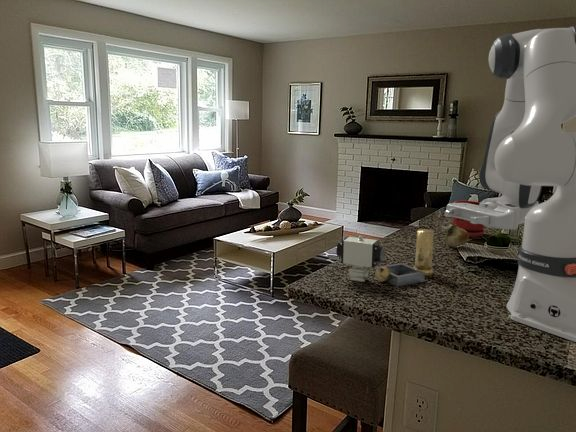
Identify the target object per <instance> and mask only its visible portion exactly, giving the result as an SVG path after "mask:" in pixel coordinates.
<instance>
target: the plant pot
mask: <svg viewBox="0 0 576 432" xmlns="http://www.w3.org/2000/svg"><path fill="white" fill-rule="evenodd" d="M481 202H482V201H474V200H455V201H453V202H452V203H469V204H474V205H479V204H480V203H481ZM451 220H452V223H454V224H456V226H457V227H459V228H462V229H464V230H465V231H467V232H468V234H469V238H470V237H471V238H476V237H481V236H483V235H484V234H485V230H484V228H486V227H485V226H484V225H482V224H473V223H470V221H467V220H464V219H460V218H456V217H451Z"/></svg>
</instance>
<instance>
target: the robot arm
mask: <svg viewBox="0 0 576 432" xmlns="http://www.w3.org/2000/svg"><path fill="white" fill-rule="evenodd" d="M488 65H489V69H490V70H491V74H492V75H493V76H494V77H495V78H496V79H503V80H504V79H505V80H506V84H505V90H504V101H503V105H502V108H501V110H499V111H498V112H497V113H496V114H495V115H494V117H493V119H492V122H491V126H490V130H489V134H488V138H487V143H486V148H485V153H484V158H483V162H482V164H481V166H480V169H479V172H478V180H479V184H480V186H481V187H482V188H483V189H484V190H488V191H492V192H495V193H499V194H501V196H499V197H491V198H490V197H489V198H485V199H482V201H480V202H481V203H480V204H479V205H474V204H469V203H453V202H452V203H451V202H450V203H448V204H447V205H446V210H444V217H446V218H452V217H456V218H460V219H464V220H467V221H470V223H473V224H482V225H484V226H485V227H484V228H488V229H494V228H495V229H500V230H510V231H511V230H513V231H515V230H517V229H518V228H519V225H520V224H521V225H522V224H524V226H523V235H522V242H521V246H519V249H518V255H517V266H518V267H517V268H518V269H517V275H516V278H515V284H514V286H513V290H512V291H511V295H510V297H509V300H508V302H507V304H506V309H507V310H508V311H509V313H510V316H509V317H510V319H511V320H512V321H514V322H517V323H520V324H523V325H525V326H528V327H532V328H535V329H538V330H540V331H543V332H546V333H549V334H551V335H555V336H557V337H560V338H563V339H566V340H569V341H571V342H574V343H576V131H575V132H574V131H571V132H568V131H564V130H563V129H562V124H564V123H567V122H569V121H571V120H573V119H574V118H575V117H576V26H569V27H553V28H551V27H550V28H536V29H535V28H534V29H530V30H526V31H521V32H520V31H519V32H517V33H513V34H512V33H507V34H504V35H501V36H499V37H497V38H496V39H495V40H494V41H493V42H492V44H491V48H490V50H489V53H488ZM543 187H556V190H555V191H554V193H553V195H552V196H551V197H549V198H548V199H547V200H546V201H544V202H541V203H539V201H538V200H539V199H540V196H541V194H542V191H543Z"/></svg>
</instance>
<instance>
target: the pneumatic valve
mask: <svg viewBox="0 0 576 432" xmlns="http://www.w3.org/2000/svg"><path fill="white" fill-rule="evenodd" d="M336 245H337V246H336V250H335V251H336V255H337V256H336V257H338V258H340V264H344V265H352V267H351V268H349V270H348V277H349V279H350V280H351V282H352V281H353V282H358V283H364V282H366V280H367V281H368V280H370V278H371V271H370V270H369V268H373V269H374V268H376V267H377V266H378V264H382V263H383V262H384V259H385V251H386V249H385V246H382V244H381V241H380V239H371V238H364V237H363V235H359V236H358V237H354V236H346V237H344V238H343V239H342V240H339V241H338V243H337V244H336Z"/></svg>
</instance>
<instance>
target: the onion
mask: <svg viewBox="0 0 576 432" xmlns="http://www.w3.org/2000/svg"><path fill="white" fill-rule="evenodd" d="M441 229H442V230H443V231H444V232H446V233H445V236H444V240H445V244H446V245H448V247H451V248H454V249H456V247H457V246H460V245H464V246H465V245H467V243H468V241H469V239H470V237H469V234H468V232H467V231H465V230H464V229H462V228H459V227H457V226H456V224H454V223H453V222H452V223H449V225H448V226H443V225H442V226H441Z"/></svg>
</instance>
